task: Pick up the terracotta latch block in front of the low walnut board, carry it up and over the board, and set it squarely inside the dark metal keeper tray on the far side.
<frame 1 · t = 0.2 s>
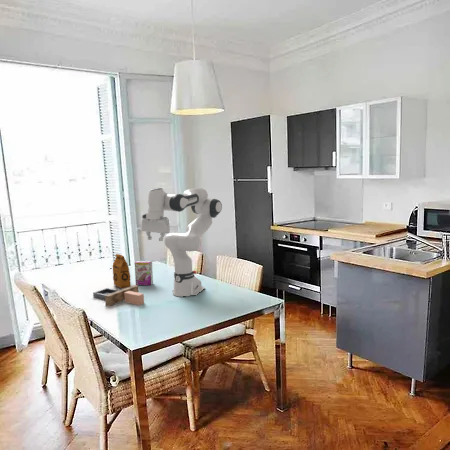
hand: (155, 240, 223), 38 cm above the table, tool pointing down, fingers open, 8 cm apart
keeper tray: (109, 296, 245), on the table
candy bar box: (144, 284, 269), on the table
latch block: (134, 302, 233), on the table
walnut board: (122, 299, 238), on the table
coffee package: (122, 286, 267), on the table
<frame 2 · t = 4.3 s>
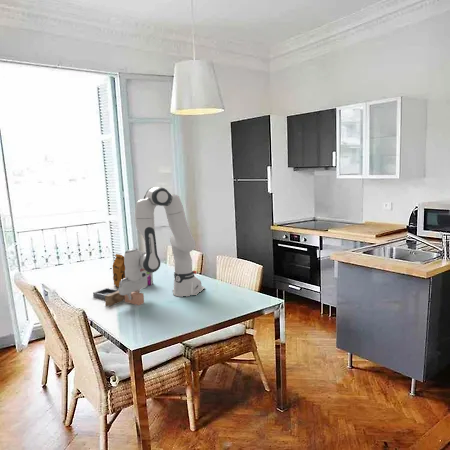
hand: (134, 298, 233), 3 cm above the table, tool pointing down, fingers closed on latch block, 4 cm apart
latch block: (134, 302, 233), on the table, touching gripper
everything else where it was.
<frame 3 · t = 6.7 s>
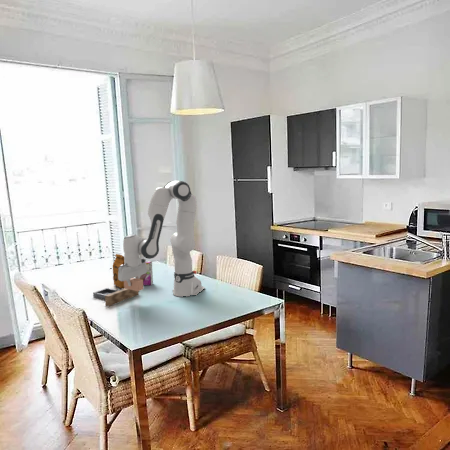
hand: (133, 284, 231), 11 cm above the table, tool pointing down, fingers closed on latch block, 4 cm apart
latch block: (133, 288, 232), point 8 cm above the table, touching gripper
everything else where it was.
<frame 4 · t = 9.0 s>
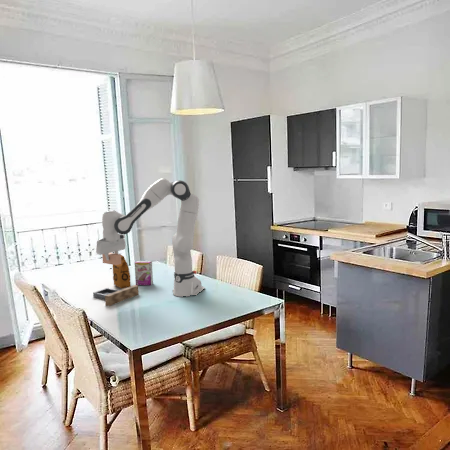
hand: (111, 259, 238), 25 cm above the table, tool pointing down, fingers closed on latch block, 4 cm apart
latch block: (112, 263, 239), point 22 cm above the table, touching gripper
everything else where it was.
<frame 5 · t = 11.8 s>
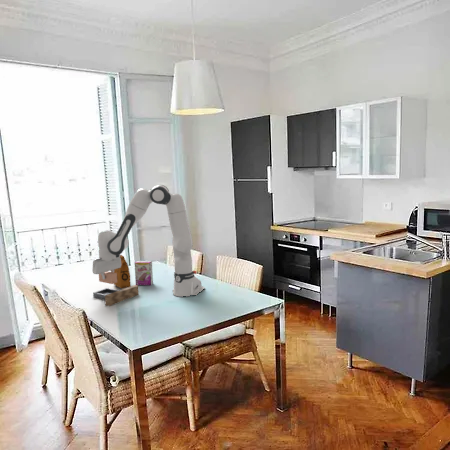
hand: (107, 277, 243), 12 cm above the table, tool pointing down, fingers closed on latch block, 4 cm apart
latch block: (108, 281, 243), point 10 cm above the table, touching gripper
everything else where it was.
when the fingers open (6 cm above the table, at t = 13.9 s): latch block drops 2 cm, resting on keeper tray.
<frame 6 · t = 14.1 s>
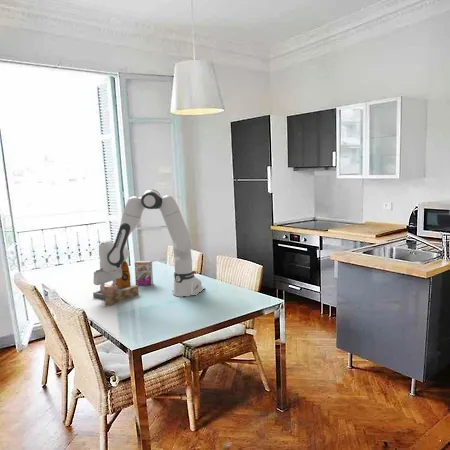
hand: (108, 288, 244), 6 cm above the table, tool pointing down, fingers open, 6 cm apart
latch block: (109, 295, 245), point 1 cm above the table, touching keeper tray
everything else where it was.
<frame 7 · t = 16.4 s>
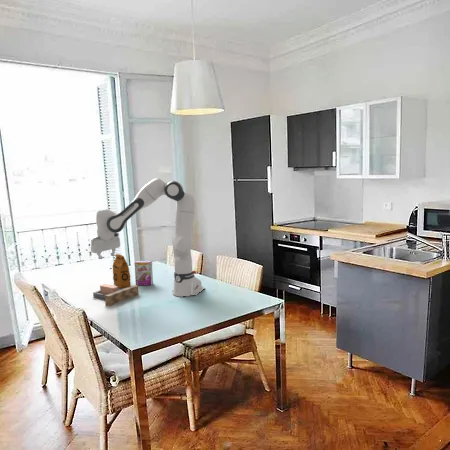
hand: (106, 257, 241), 26 cm above the table, tool pointing down, fingers open, 8 cm apart
nothing on the table moved.
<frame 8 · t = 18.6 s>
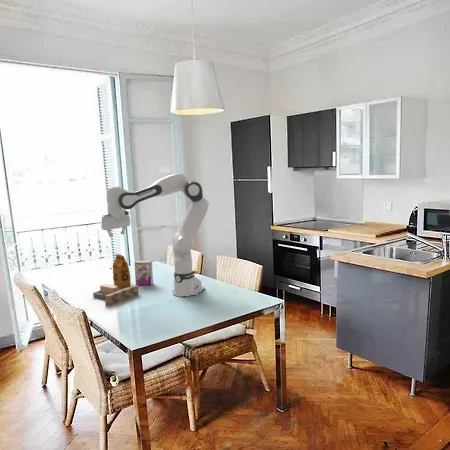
hand: (116, 235, 239), 39 cm above the table, tool pointing down, fingers open, 8 cm apart
nothing on the table moved.
at the end: latch block 0.1 cm off-centre on the keeper tray, point 1.0 cm above the keeper tray's base; latch block tilted 0°; the gripper is holding nothing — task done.
